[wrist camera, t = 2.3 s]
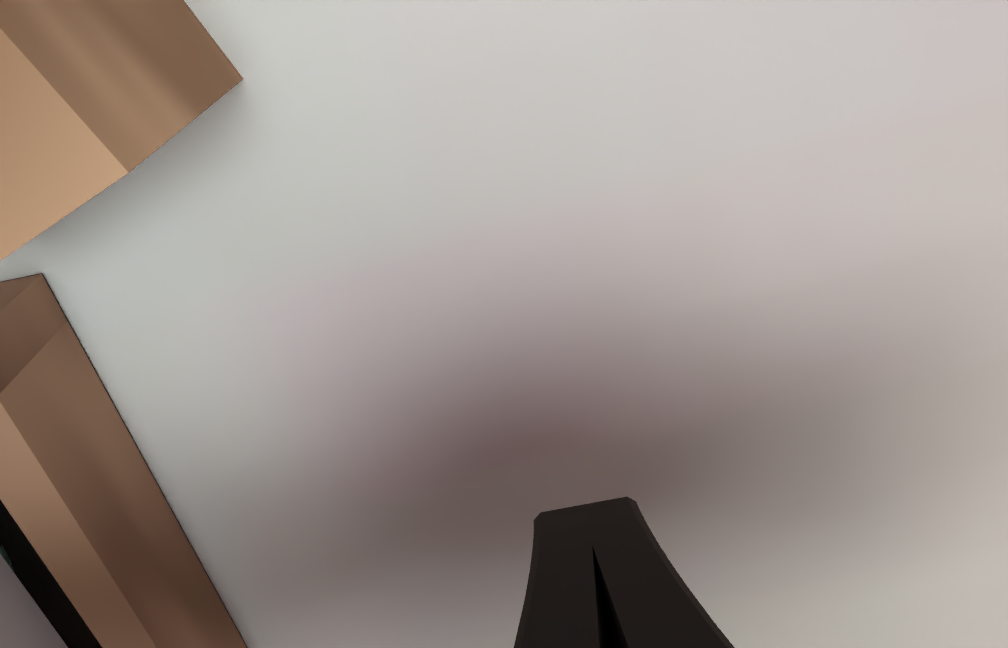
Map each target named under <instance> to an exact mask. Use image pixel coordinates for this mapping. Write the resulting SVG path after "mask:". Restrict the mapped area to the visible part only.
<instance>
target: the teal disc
mask: <svg viewBox="0 0 1008 648" xmlns="http://www.w3.org/2000/svg"><path fill="white" fill-rule="evenodd" d="M0 554H1V555H2V557H3V558H4V560H5V561H6V562H7V564H8V565H9V567H10V568H11V569H12V571H13V567H12V563H11V561H10V558H9V556H8V554H7V553H6V551H5V549H4V548H3V546H2V545H1V544H0ZM13 572H14V571H13Z"/></svg>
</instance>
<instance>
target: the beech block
mask: <svg viewBox="0 0 1008 648" xmlns="http://www.w3.org/2000/svg"><path fill="white" fill-rule="evenodd" d="M241 80H243V78H242V76H241V75H240V74H239V72H238V71H237V70H236V68H235V67H234V66H233V65H232V63H231V62H230V61H229V59H228V58H227V57H226V55H225V54H224V53H223V51H222V50H221V49H220V47H219V46H218V45H217V44H216V42H215V41H214V40H213V38H212V37H211V36H210V34H209V33H208V32H207V30H206V29H205V28H204V26H203V25H202V24H201V22H200V21H199V20H198V19H197V17H196V16H195V15H194V13H193V12H192V11H191V9H190V8H189V7H188V5H187V4H186V3H185V1H184V0H0V261H1V260H2V259H4V258H5V257H7V256H8V255H10V254H11V253H12V252H14V251H15V250H17V249H18V248H20V247H21V246H23V245H24V244H26V243H27V242H28V241H30V240H31V239H33V238H34V237H36V236H37V235H39V234H40V233H42V232H43V231H44V230H46V229H47V228H49V227H50V226H52V225H53V224H55V223H56V222H58V221H59V220H60V219H62V218H63V217H65V216H66V215H68V214H69V213H71V212H72V211H74V210H75V209H76V208H78V207H79V206H81V205H82V204H84V203H85V202H87V201H88V200H90V199H91V198H93V197H94V196H95V195H97V194H98V193H100V192H101V191H103V190H104V189H106V188H107V187H109V186H110V185H111V184H113V183H114V182H116V181H117V180H119V179H120V178H122V177H123V176H125V175H126V174H127V173H129V172H130V171H131V170H133V169H134V168H135V167H136V166H137V165H139V164H140V163H141V162H142V161H144V160H145V159H146V158H147V157H148V156H150V155H151V154H152V153H153V152H155V151H156V150H157V149H158V148H159V147H161V146H162V145H163V144H164V143H166V142H167V141H168V140H169V139H170V138H172V137H173V136H174V135H175V134H177V133H178V132H179V131H180V130H181V129H183V128H184V127H185V126H186V125H188V124H189V123H190V122H191V121H192V120H194V119H195V118H196V117H197V116H199V115H200V114H201V113H202V112H203V111H205V110H206V109H207V108H208V107H210V106H211V105H212V104H213V103H214V102H216V101H217V100H218V99H219V98H221V97H222V96H223V95H224V94H225V93H227V92H228V91H229V90H230V89H232V88H233V87H234V86H235V85H236V84H238V83H239V82H240V81H241Z"/></svg>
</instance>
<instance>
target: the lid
mask: <svg viewBox="0 0 1008 648" xmlns="http://www.w3.org/2000/svg"><path fill="white" fill-rule="evenodd" d="M0 648H68V647H67V645H66V644H65V643H64V641H63V640H62V638H61V637H60V636H59V634H58V633H57V632H56V630H55V629H54V627H53V626H52V625H51V623H50V622H49V620H48V619H47V618H46V616H45V615H44V614H43V612H42V611H41V609H40V608H39V607H38V605H37V604H36V602H35V601H34V600H33V598H32V597H31V596H30V594H29V593H28V591H27V590H26V589H25V587H24V586H23V585H22V583H21V582H20V580H19V579H18V578H17V576H16V575H15V573H14V572H13V571H12V569H11V568H10V567H9V565H8V564H7V562H6V561H5V560H4V558H3V557H2V555H1V554H0Z"/></svg>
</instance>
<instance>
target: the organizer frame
mask: <svg viewBox="0 0 1008 648" xmlns="http://www.w3.org/2000/svg"><path fill="white" fill-rule="evenodd" d="M0 500H1V501H2V503H3V504H4V506H5V507H6V509H7V510H8V512H9V513H10V514H11V516H12V517H13V519H14V520H15V522H16V523H17V525H18V526H19V527H20V529H21V530H22V532H23V533H24V535H25V536H26V538H27V539H28V541H29V542H30V543H31V545H32V546H33V548H34V549H35V551H36V552H37V554H38V555H39V556H40V558H41V559H42V561H43V562H44V564H45V565H46V567H47V568H48V570H49V571H50V572H51V574H52V575H53V577H54V578H55V580H56V581H57V583H58V584H59V585H60V587H61V588H62V590H63V591H64V593H65V594H66V596H67V597H68V598H69V600H70V601H71V603H72V604H73V606H74V607H75V609H76V610H77V612H78V613H79V614H80V616H81V617H82V619H83V620H84V622H85V623H86V625H87V626H88V627H89V629H90V630H91V632H92V633H93V635H94V636H95V638H96V639H97V641H98V642H99V643H100V645H101V646H102V648H247V647H246V645H245V644H244V642H243V640H242V638H241V636H240V634H239V633H238V631H237V629H236V627H235V625H234V624H233V622H232V620H231V618H230V616H229V614H228V613H227V611H226V609H225V607H224V605H223V604H222V602H221V600H220V598H219V596H218V594H217V593H216V591H215V589H214V587H213V585H212V583H211V582H210V580H209V578H208V576H207V574H206V573H205V571H204V569H203V567H202V565H201V563H200V562H199V560H198V558H197V556H196V554H195V552H194V551H193V549H192V547H191V545H190V543H189V542H188V540H187V538H186V536H185V534H184V532H183V531H182V529H181V527H180V525H179V523H178V522H177V520H176V518H175V516H174V514H173V512H172V511H171V509H170V507H169V505H168V503H167V501H166V500H165V498H164V496H163V494H162V492H161V491H160V489H159V487H158V485H157V483H156V481H155V480H154V478H153V476H152V474H151V472H150V470H149V469H148V467H147V465H146V463H145V461H144V460H143V458H142V456H141V454H140V452H139V450H138V449H137V447H136V445H135V443H134V441H133V440H132V438H131V436H130V434H129V432H128V430H127V429H126V427H125V425H124V423H123V421H122V419H121V418H120V416H119V414H118V412H117V410H116V409H115V407H114V405H113V403H112V401H111V399H110V398H109V396H108V394H107V392H106V390H105V388H104V387H103V385H102V383H101V381H100V379H99V378H98V376H97V374H96V372H95V370H94V368H93V367H92V365H91V363H90V361H89V359H88V358H87V356H86V354H85V352H84V350H83V348H82V347H81V345H80V343H79V341H78V339H77V337H76V336H75V334H74V332H73V330H72V328H71V327H70V325H69V323H68V321H67V319H66V317H65V316H64V314H63V312H62V310H61V308H60V306H59V305H58V303H57V301H56V299H55V297H54V296H53V294H52V292H51V290H50V288H49V286H48V285H47V283H46V281H45V279H44V277H43V275H42V274H38V275H33V276H28V277H24V278H19V279H14V280H9V281H4V282H0Z"/></svg>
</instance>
